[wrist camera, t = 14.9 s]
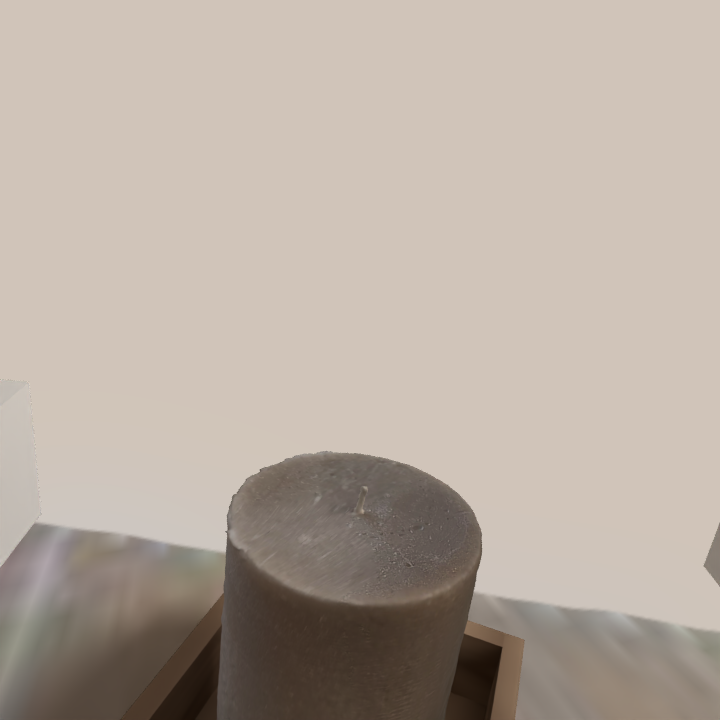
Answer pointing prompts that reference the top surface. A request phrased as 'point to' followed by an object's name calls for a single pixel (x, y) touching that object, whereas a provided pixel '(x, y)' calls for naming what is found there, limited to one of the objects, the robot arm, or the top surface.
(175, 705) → the walnut crate
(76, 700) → the top surface
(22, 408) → the robot arm
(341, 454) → the pillar candle
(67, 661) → the top surface
